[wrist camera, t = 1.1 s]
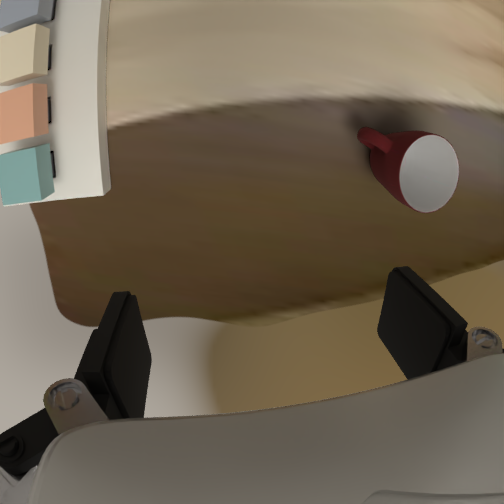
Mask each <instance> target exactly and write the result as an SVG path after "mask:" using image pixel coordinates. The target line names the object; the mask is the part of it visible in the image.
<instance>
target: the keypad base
mask: <svg viewBox="0 0 504 504" xmlns="http://www.w3.org/2000/svg"><path fill="white" fill-rule="evenodd" d="M55 7H56V10H55V19H54V20H52V21H49V22H45V23H41V24H39V25H42V26H44V27H47V28H49V29H50V35H49V47H51V51H52V60H51V70H48V75H45V76H41V77H37V78H34V79H30V80H27V81H23V82H20V83H17V84H14V85H11V86H0V93H2V92H5V91H8V90H12V89H15V88H18V87H21V86H25V85H28V84H32V83H37V84H47V99H51V117H52V123H50V124H48V129H49V133H48V134H43V135H39V136H35V137H30V138H26V139H21V140H17V141H13V142H8V143H4V144H1V145H0V155H1V154H4V153H7V152H10V151H13V150H18V149H22V148H27V147H32V146H37V145H42V144H48V143H49V144H50V151H54V160H55V170H56V174H55V175H53V182H54V190H55V192H54V193H52V194H51V195H49V196H48V197H46V198H45V199H43V200H42V201H34V202H26V203H18V204H11V205H19V204H27V203H35V202H43V201H52V200H61V199H71V198H81V197H92V196H103V195H105V194H106V193H107V192H108V191H109V190H110V189H111V180H110V169H109V156H108V141H107V118H106V54H107V33H108V18H109V7H110V0H56V2H55ZM6 34H9V33H7V32H4V31H0V37H1V36H4V35H6ZM11 205H4V206H11Z"/></svg>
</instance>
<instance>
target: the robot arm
mask: <svg viewBox="0 0 504 504" xmlns="http://www.w3.org/2000/svg"><path fill="white" fill-rule="evenodd" d="M467 324H468V323H467V322H466V321H465V320H464V319H463V318H462V317H461V316H460V315H459V314H458V313H457V312H456V311H455V310H454V309H453V308H452V307H451V306H450V305H449V304H448V303H447V302H446V301H445V300H444V299H443V298H442V297H441V296H440V295H439V294H438V293H437V292H435V291H434V290H433V289H432V288H431V287H430V286H429V285H428V284H427V283H426V282H425V281H424V280H423V279H422V278H420V277H419V276H418V275H417V274H416V273H415V272H414V271H413V270H412V269H411V268H409V267H408V266H404V267H396V268H394V269H393V270H392V272H390V273H389V275H388V280H387V286H386V291H385V296H384V301H383V305H382V310H381V315H380V319H379V324H378V328H377V332H378V335H379V337H380V339H381V340H382V342H383V343H384V345H385V346H386V348H387V349H388V351H389V352H390V354H391V355H392V357H393V358H394V360H395V361H396V362H397V364H398V366H399V367H400V369H401V370H402V372H403V373H404V375H405V376H406V378H407V379H408V380H405V381H401V382H398V383H394V384H390V385H387V386H383V387H379V388H375V389H371V390H367V391H362V392H358V393H353V394H349V395H344V396H340V397H335V398H330V399H324V400H320V401H314V402H308V403H302V404H296V405H290V406H283V407H277V408H269V409H262V410H253V411H244V412H235V413H225V414H212V415H196V416H178V417H153V418H144V410H145V402H146V395H147V388H148V381H149V375H150V368H151V353H150V349H149V345H148V341H147V338H146V334H145V330H144V326H143V323H142V319H141V315H140V311H139V306H138V302H137V298H136V296H135V295H131V293H130V292H129V291H125V292H114V293H113V294H112V297H111V299H110V301H109V303H108V306H107V308H106V310H105V313H104V315H103V317H102V320H101V322H100V325H99V327H98V329H95V330H93V332H92V334H91V336H90V339H89V341H88V344H87V346H86V349H85V351H84V354H83V356H82V359H81V361H80V364H79V367H78V369H77V372H76V374H75V377H74V379H71V378H68V379H62V380H59V381H57V382H55V383H54V384H52V385H51V386H50V387H49V388H48V389H47V390H46V393H45V394H44V399H43V402H44V405H45V408H44V409H42V410H40V411H39V412H37V413H35V414H34V415H32V416H30V417H29V418H27V419H25V420H23V421H22V422H20V423H18V424H17V425H15V426H13V427H11V428H10V429H8V430H6V431H5V432H3V433H2V434H0V504H504V349H503V348H502V342H501V339H500V337H499V336H498V335H497V334H496V333H495V332H494V331H492V330H490V329H488V328H485V327H474V328H471V329H470V331H469V332H467V331H466V330H465V329H466V327H467Z"/></svg>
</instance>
